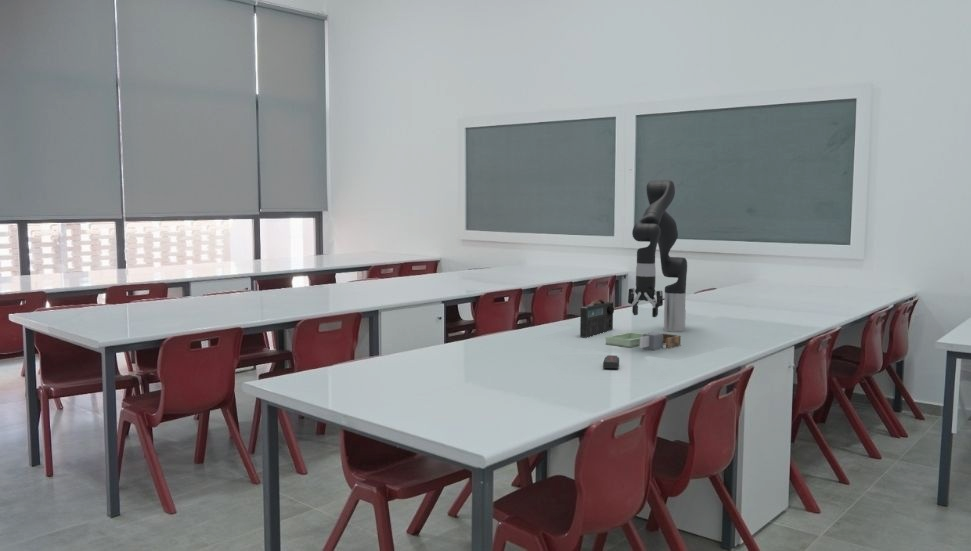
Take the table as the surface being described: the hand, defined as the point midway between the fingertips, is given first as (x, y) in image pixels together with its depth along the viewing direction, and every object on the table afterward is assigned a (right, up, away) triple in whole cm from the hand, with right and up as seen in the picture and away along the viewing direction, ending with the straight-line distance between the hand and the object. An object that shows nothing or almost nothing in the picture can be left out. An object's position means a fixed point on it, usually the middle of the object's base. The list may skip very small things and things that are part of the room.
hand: (644, 316), depth 310 cm
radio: (-12, -10, +42) cm, 45 cm away
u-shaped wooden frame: (+10, -13, +12) cm, 20 cm away
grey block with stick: (+2, -13, +3) cm, 14 cm away
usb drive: (-17, -16, -27) cm, 36 cm away
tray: (-3, -12, +17) cm, 21 cm away
